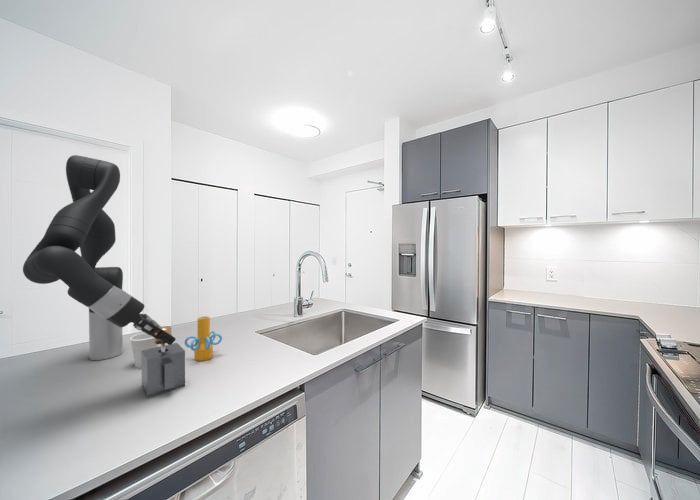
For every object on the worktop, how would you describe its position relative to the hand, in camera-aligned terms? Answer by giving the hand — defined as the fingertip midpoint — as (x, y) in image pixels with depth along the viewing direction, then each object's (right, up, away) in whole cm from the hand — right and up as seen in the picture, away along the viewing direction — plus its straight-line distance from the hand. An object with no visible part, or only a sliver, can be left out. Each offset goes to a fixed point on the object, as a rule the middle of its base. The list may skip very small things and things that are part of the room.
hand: (170, 339), depth 80 cm
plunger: (-1, -11, -1) cm, 12 cm away
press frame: (-1, -13, -2) cm, 14 cm away
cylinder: (0, -13, +19) cm, 23 cm away
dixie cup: (-18, -13, +13) cm, 26 cm away
